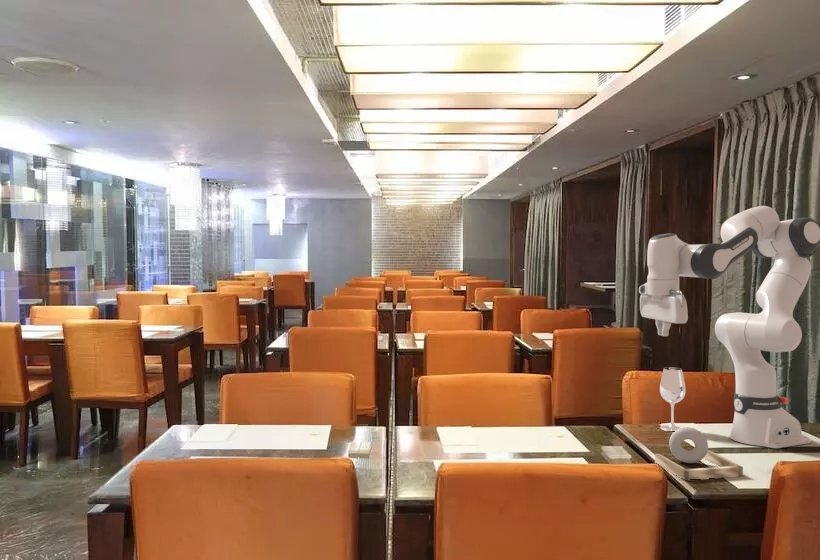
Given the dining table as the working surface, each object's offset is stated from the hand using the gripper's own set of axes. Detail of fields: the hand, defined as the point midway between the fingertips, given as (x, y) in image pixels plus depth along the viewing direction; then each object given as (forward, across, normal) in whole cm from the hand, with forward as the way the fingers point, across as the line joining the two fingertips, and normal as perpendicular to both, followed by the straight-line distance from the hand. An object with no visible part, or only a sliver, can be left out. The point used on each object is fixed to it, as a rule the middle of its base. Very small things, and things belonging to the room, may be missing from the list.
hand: (663, 335), depth 192 cm
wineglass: (+34, +18, -14) cm, 41 cm away
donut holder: (+34, -19, +1) cm, 39 cm away
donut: (+34, -14, 0) cm, 36 cm away
